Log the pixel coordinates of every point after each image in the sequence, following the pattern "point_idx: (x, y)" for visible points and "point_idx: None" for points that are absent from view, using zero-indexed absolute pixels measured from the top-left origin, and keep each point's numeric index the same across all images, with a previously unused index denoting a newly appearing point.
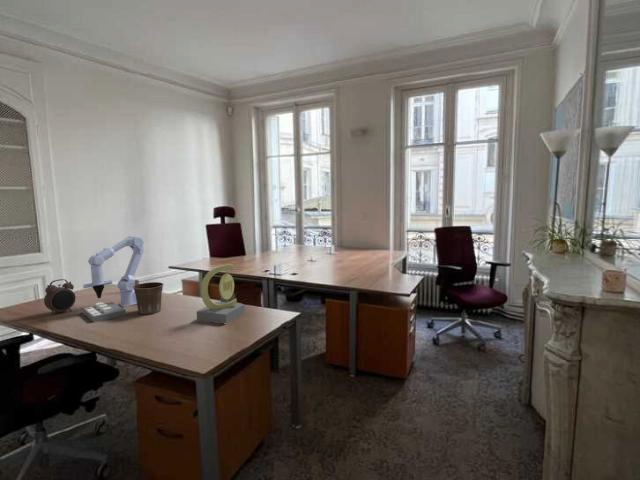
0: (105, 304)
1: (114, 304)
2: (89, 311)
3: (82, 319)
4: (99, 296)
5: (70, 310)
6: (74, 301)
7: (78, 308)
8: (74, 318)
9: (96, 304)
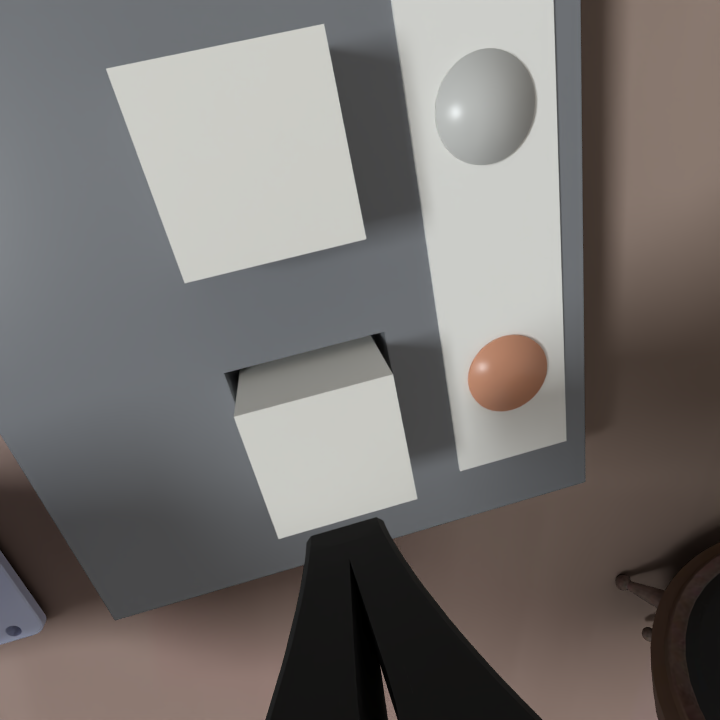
0: (195, 268)
1: (32, 430)
2: (543, 114)
3: (616, 13)
4: (356, 559)
5: (630, 581)
6: (668, 701)
7: (537, 639)
8: (684, 190)
9: (398, 406)
